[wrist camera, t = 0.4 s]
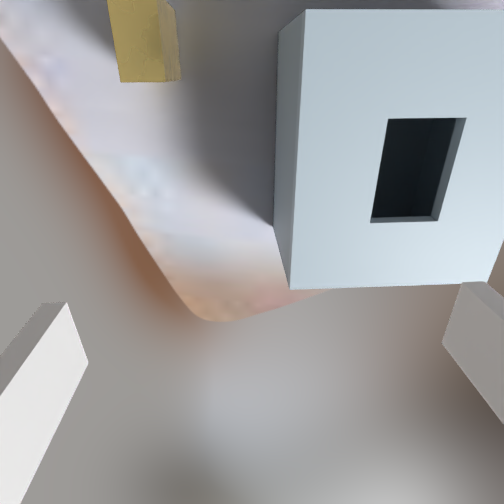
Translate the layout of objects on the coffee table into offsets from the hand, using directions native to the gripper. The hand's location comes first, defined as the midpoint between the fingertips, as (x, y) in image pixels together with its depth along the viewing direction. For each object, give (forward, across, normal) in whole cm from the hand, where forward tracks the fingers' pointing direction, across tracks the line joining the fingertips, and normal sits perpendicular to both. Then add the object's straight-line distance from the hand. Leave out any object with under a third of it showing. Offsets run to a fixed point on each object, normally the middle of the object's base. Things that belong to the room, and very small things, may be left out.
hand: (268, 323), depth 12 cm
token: (+25, -7, +10) cm, 27 cm away
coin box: (+25, +11, +1) cm, 27 cm away
